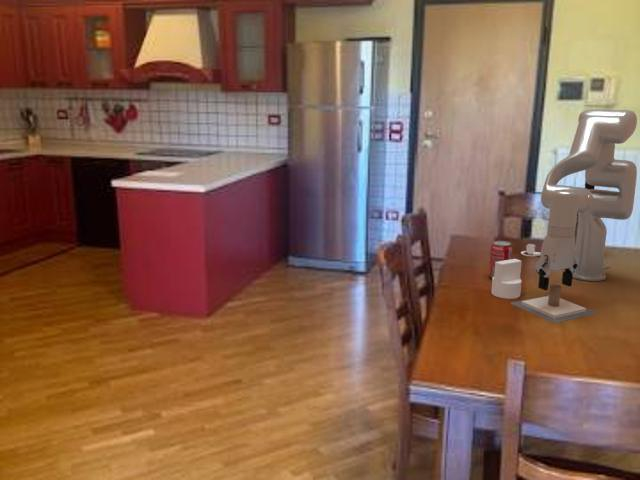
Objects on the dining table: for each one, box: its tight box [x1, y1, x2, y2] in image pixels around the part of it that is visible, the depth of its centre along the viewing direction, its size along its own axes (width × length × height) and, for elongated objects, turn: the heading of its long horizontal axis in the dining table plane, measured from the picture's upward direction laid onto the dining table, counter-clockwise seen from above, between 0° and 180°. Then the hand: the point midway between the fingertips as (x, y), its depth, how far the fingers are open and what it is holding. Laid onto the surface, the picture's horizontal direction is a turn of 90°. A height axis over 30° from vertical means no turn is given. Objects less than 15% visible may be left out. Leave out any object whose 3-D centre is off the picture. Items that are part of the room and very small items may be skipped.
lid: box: [521, 283, 587, 319], centre depth 180 cm, size 13×13×7 cm
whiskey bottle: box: [575, 180, 596, 247], centre depth 239 cm, size 10×10×32 cm
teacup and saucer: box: [520, 243, 541, 257], centre depth 244 cm, size 9×8×4 cm
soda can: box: [489, 240, 513, 279], centre depth 211 cm, size 7×7×13 cm
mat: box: [509, 294, 599, 324], centre depth 181 cm, size 18×18×1 cm
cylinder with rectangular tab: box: [491, 258, 523, 300], centre depth 192 cm, size 9×9×12 cm
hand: (554, 287), depth 179 cm, fingers open, 9 cm apart
